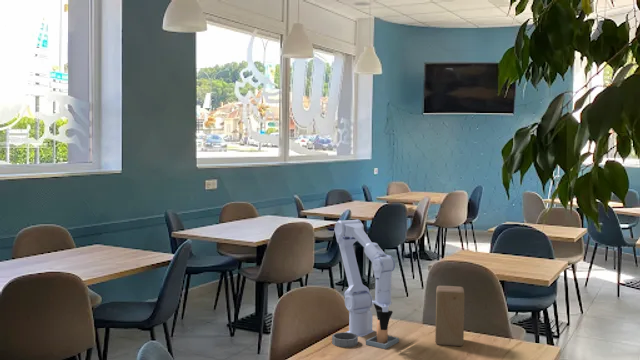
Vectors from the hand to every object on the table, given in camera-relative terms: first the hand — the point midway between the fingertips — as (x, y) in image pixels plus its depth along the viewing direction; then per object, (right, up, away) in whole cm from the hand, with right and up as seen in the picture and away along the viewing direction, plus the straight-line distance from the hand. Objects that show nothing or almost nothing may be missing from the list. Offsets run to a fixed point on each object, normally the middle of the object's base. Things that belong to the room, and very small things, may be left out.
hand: (382, 326), depth 222 cm
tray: (0, -7, 0) cm, 7 cm away
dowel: (0, -6, 0) cm, 6 cm away
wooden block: (+25, -7, +4) cm, 26 cm away
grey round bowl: (-14, -7, 0) cm, 15 cm away
